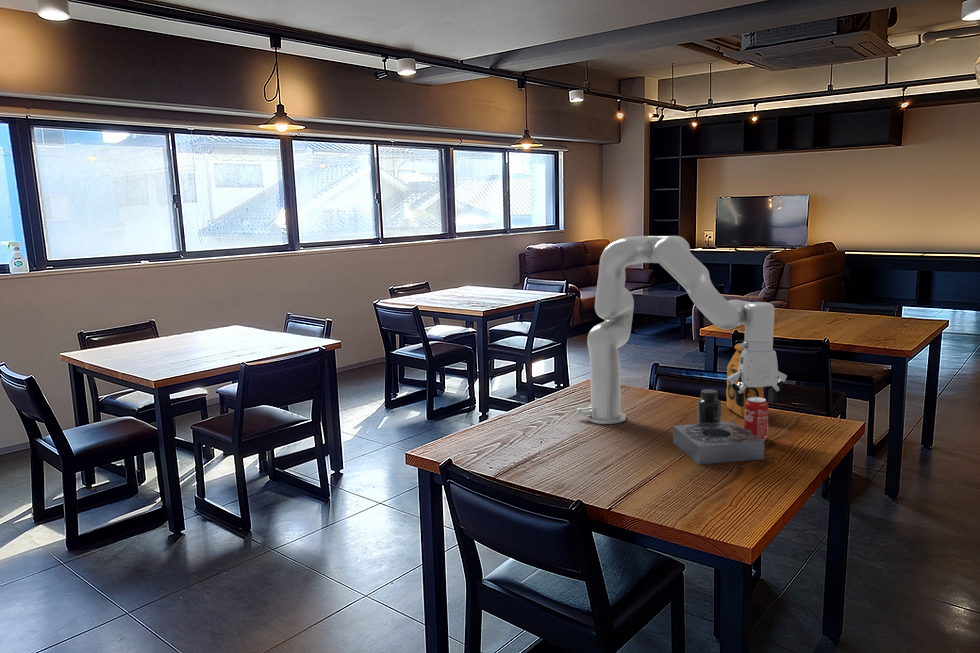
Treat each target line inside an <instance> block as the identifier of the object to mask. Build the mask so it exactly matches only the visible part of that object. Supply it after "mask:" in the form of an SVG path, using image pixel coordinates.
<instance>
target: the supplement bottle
mask: <svg viewBox="0 0 980 653" xmlns="http://www.w3.org/2000/svg"><path fill="white" fill-rule="evenodd" d="M718 396H719V395H718V391H717V390H716V389H710V388H709V389H708V388H707V389H705V388H704V389H701V391H700V399H698V400H697V424H704V423H717V422H722V402H721V400H720V399H718Z"/></svg>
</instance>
